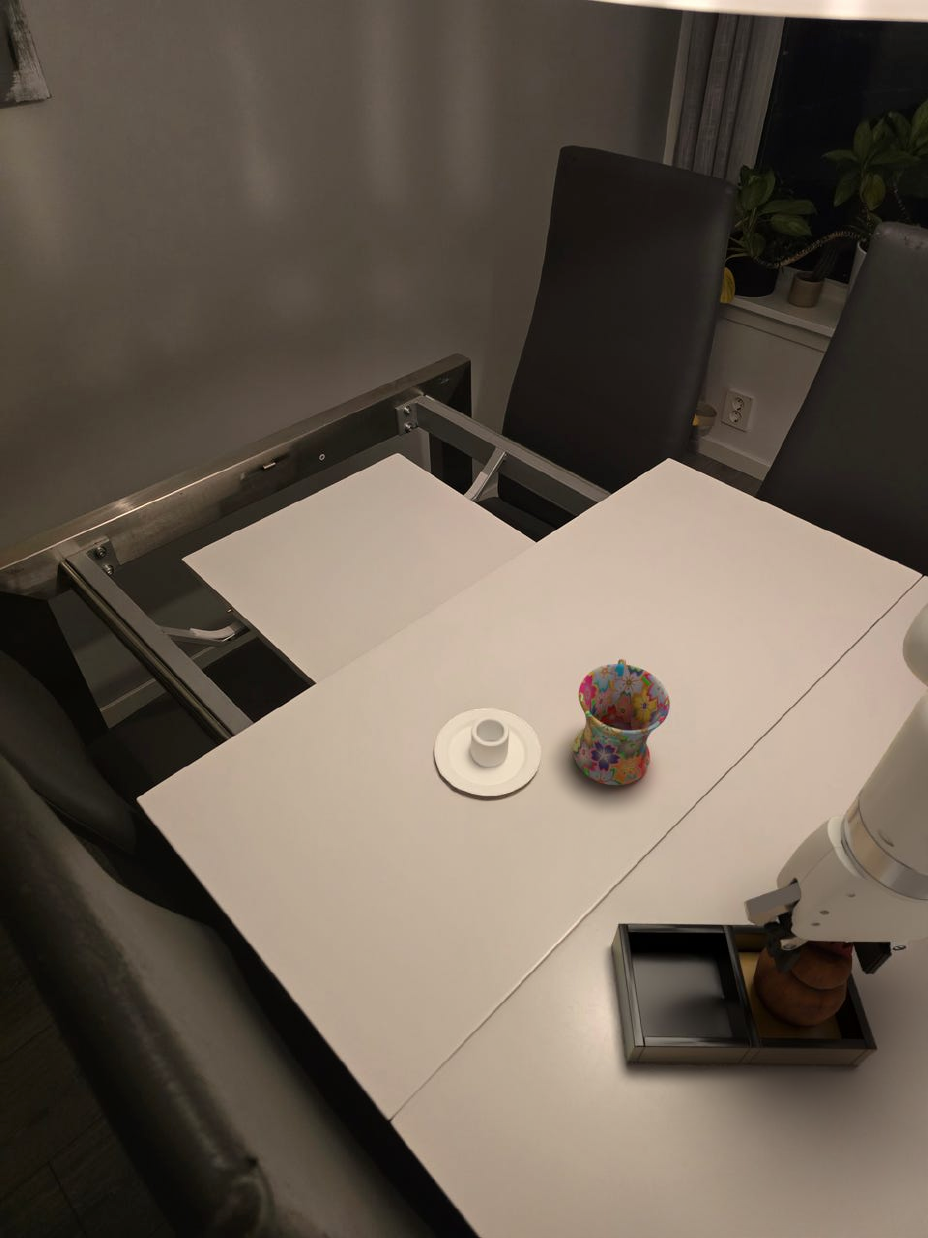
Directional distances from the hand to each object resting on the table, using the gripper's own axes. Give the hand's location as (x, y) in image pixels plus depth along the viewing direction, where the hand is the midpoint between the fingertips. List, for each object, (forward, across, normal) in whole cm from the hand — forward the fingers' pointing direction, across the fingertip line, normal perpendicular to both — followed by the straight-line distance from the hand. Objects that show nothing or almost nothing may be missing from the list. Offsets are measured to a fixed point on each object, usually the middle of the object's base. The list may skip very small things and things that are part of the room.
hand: (819, 953), depth 62 cm
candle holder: (+11, +26, -26) cm, 38 cm away
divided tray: (+11, +5, 0) cm, 12 cm away
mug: (+11, +12, -28) cm, 32 cm away
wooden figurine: (+10, 0, 0) cm, 10 cm away
